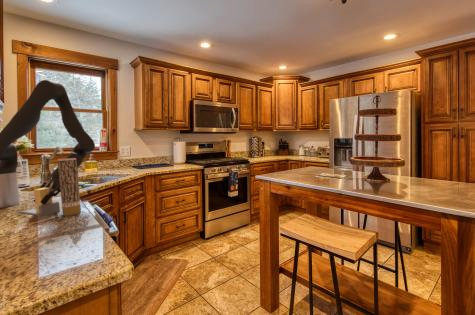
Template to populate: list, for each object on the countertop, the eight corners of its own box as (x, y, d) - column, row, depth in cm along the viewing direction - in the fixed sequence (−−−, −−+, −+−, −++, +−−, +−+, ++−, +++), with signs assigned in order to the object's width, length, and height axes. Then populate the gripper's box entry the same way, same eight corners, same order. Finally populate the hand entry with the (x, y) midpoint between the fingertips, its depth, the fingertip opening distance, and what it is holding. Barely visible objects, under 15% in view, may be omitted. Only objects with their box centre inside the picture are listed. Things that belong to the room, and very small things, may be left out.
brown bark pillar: (64, 213, 112) (59, 158, 110) (82, 210, 115) (77, 157, 112) (61, 217, 106) (55, 159, 103) (79, 214, 108) (74, 158, 106)
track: (19, 213, 113) (17, 203, 113) (36, 209, 120) (35, 199, 120) (42, 217, 106) (41, 206, 106) (60, 212, 113) (58, 202, 112)
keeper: (36, 213, 110) (33, 189, 109) (47, 210, 114) (45, 187, 113) (42, 214, 109) (39, 190, 108) (53, 211, 113) (51, 187, 112)
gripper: (49, 167, 119) (22, 197, 109) (67, 167, 114) (41, 199, 104) (61, 176, 125) (36, 205, 115) (80, 177, 119) (56, 208, 109)
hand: (39, 202), depth 109 cm, fingers closed on keeper, 4 cm apart
